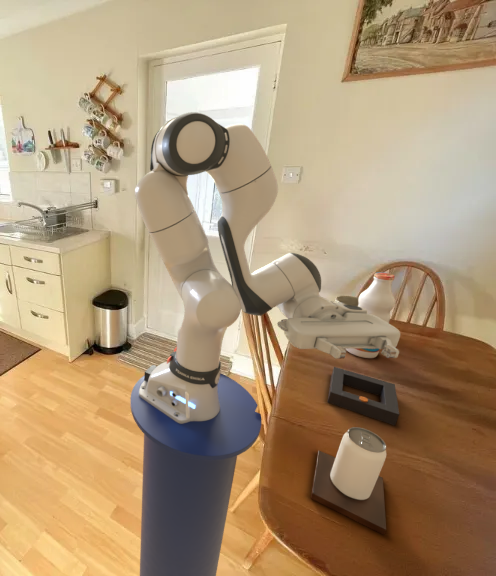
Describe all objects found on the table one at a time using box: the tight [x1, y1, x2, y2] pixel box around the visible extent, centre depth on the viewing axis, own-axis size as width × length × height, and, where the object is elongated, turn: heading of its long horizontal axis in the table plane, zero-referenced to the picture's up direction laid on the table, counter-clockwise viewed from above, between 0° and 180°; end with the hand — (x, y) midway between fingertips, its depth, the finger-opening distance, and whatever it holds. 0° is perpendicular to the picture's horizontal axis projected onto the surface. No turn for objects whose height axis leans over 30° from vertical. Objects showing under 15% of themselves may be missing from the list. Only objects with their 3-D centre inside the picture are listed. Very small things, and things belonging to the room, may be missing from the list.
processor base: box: [327, 366, 400, 426], centre depth 85 cm, size 14×14×4 cm
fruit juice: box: [345, 271, 396, 359], centre depth 102 cm, size 9×9×28 cm
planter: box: [334, 295, 359, 306], centre depth 122 cm, size 12×12×11 cm
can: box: [330, 426, 388, 500], centre depth 59 cm, size 6×6×12 cm
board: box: [310, 450, 387, 536], centre depth 61 cm, size 11×12×2 cm
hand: (367, 355), depth 56 cm, fingers open, 8 cm apart
